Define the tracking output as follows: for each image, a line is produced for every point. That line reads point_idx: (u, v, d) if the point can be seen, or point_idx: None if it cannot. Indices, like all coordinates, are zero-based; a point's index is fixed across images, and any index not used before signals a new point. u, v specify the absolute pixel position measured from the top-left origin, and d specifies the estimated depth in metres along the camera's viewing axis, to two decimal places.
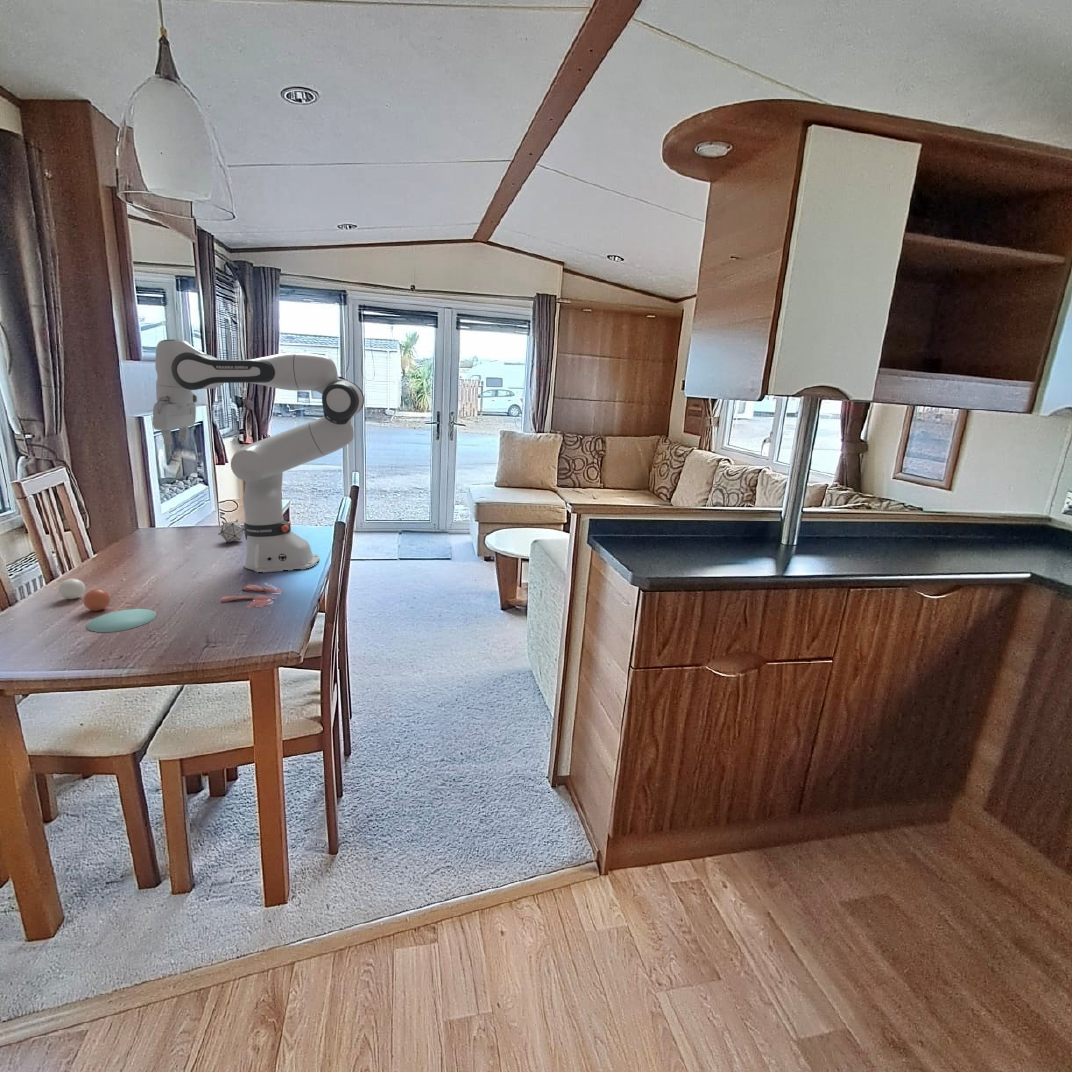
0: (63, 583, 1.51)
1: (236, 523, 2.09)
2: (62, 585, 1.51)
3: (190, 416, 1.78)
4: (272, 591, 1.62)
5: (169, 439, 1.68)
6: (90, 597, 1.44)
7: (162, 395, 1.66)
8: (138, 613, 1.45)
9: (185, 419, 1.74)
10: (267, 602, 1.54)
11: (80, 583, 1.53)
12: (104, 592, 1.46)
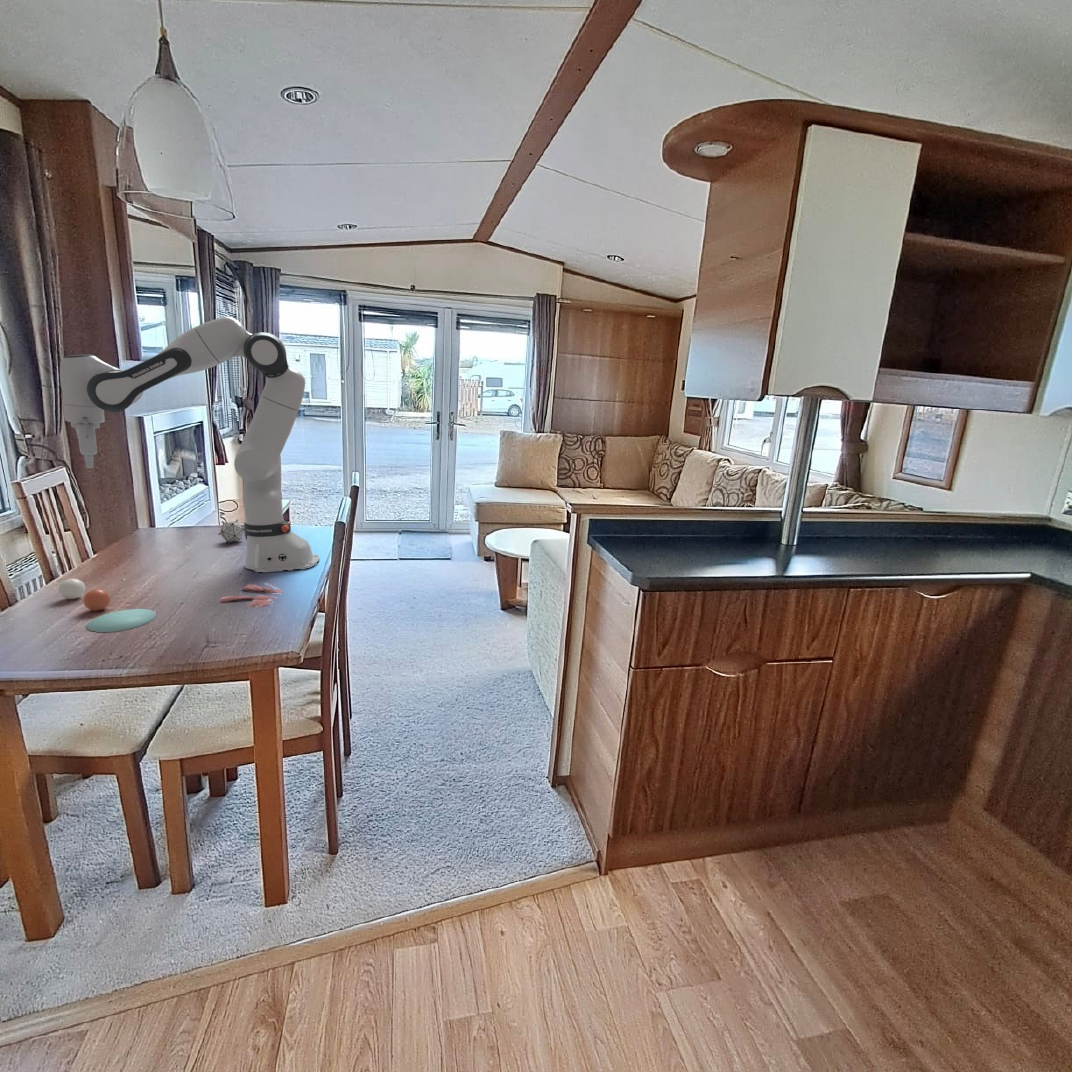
0: (63, 583, 1.51)
1: (236, 523, 2.09)
2: (62, 585, 1.51)
3: None
4: (272, 591, 1.62)
5: (92, 462, 1.58)
6: (90, 597, 1.44)
7: (78, 416, 1.54)
8: (138, 613, 1.45)
9: None
10: (267, 602, 1.54)
11: (80, 583, 1.53)
12: (104, 592, 1.46)
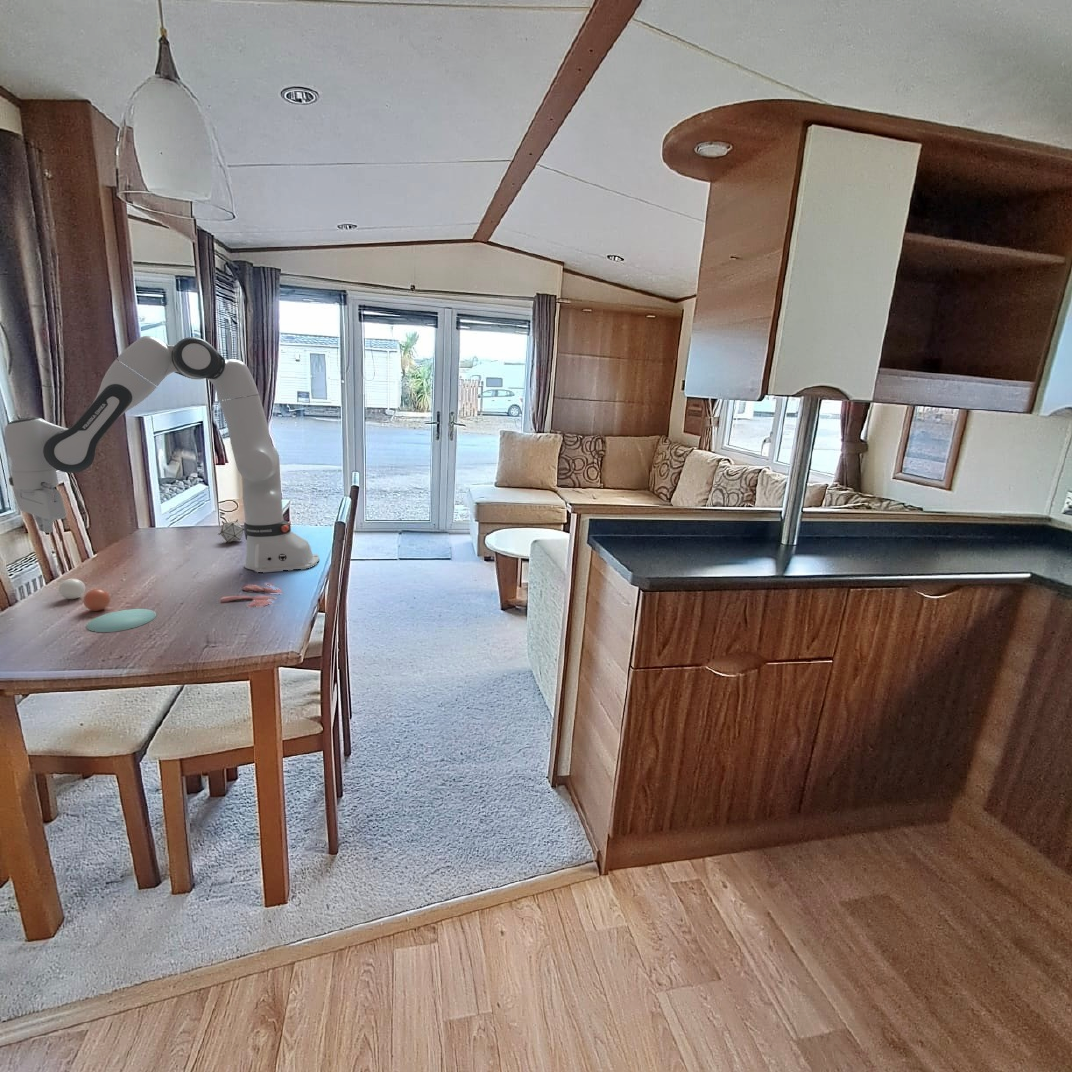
0: (63, 583, 1.51)
1: (236, 523, 2.09)
2: (62, 585, 1.51)
3: None
4: (272, 591, 1.61)
5: (51, 526, 1.54)
6: (90, 597, 1.44)
7: (36, 482, 1.48)
8: (138, 613, 1.45)
9: None
10: (267, 602, 1.54)
11: (80, 583, 1.53)
12: (104, 592, 1.46)
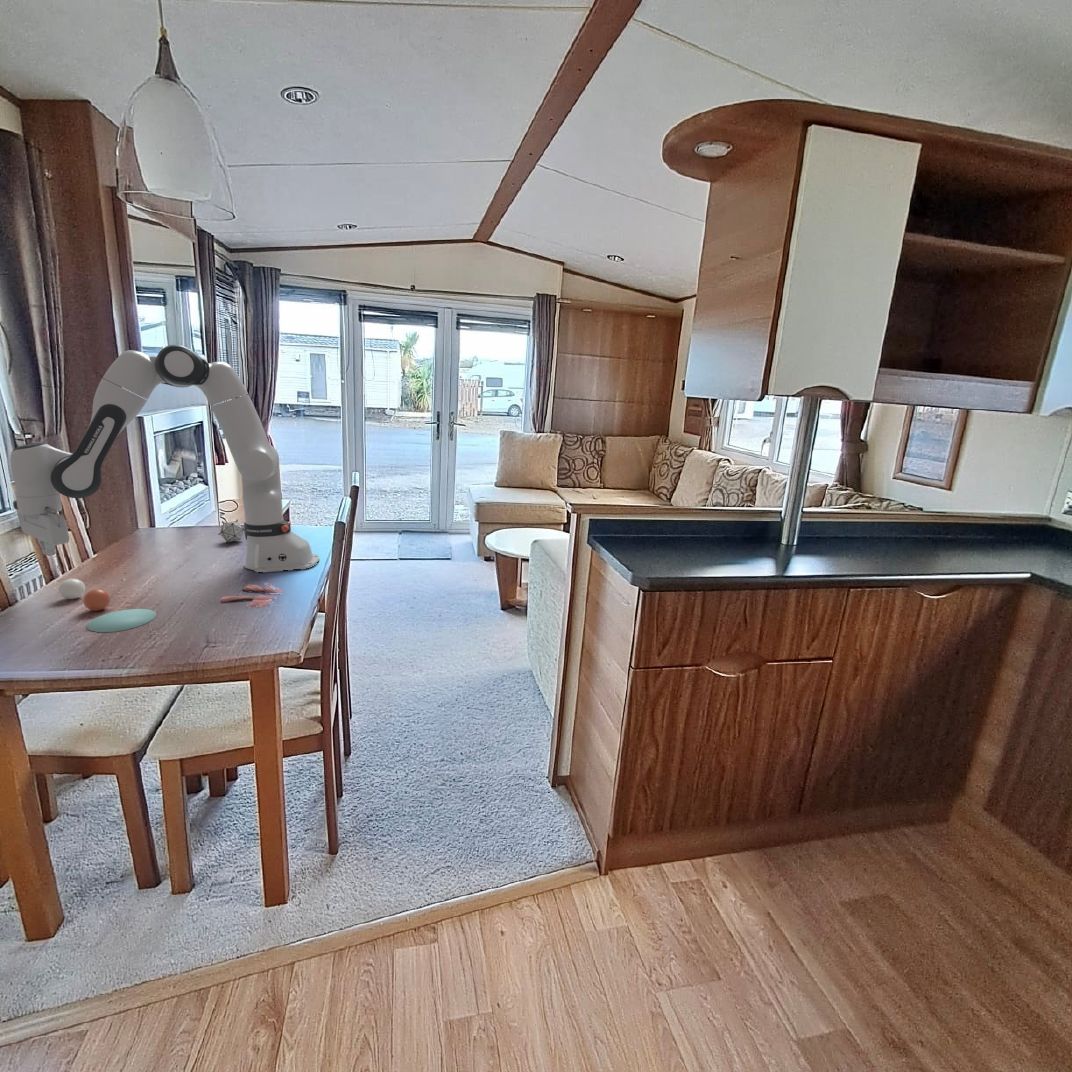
0: (63, 583, 1.51)
1: (236, 523, 2.09)
2: (62, 585, 1.51)
3: None
4: (272, 591, 1.61)
5: (53, 549, 1.55)
6: (90, 597, 1.44)
7: (40, 507, 1.49)
8: (138, 613, 1.45)
9: None
10: (267, 602, 1.54)
11: (80, 583, 1.53)
12: (104, 592, 1.46)
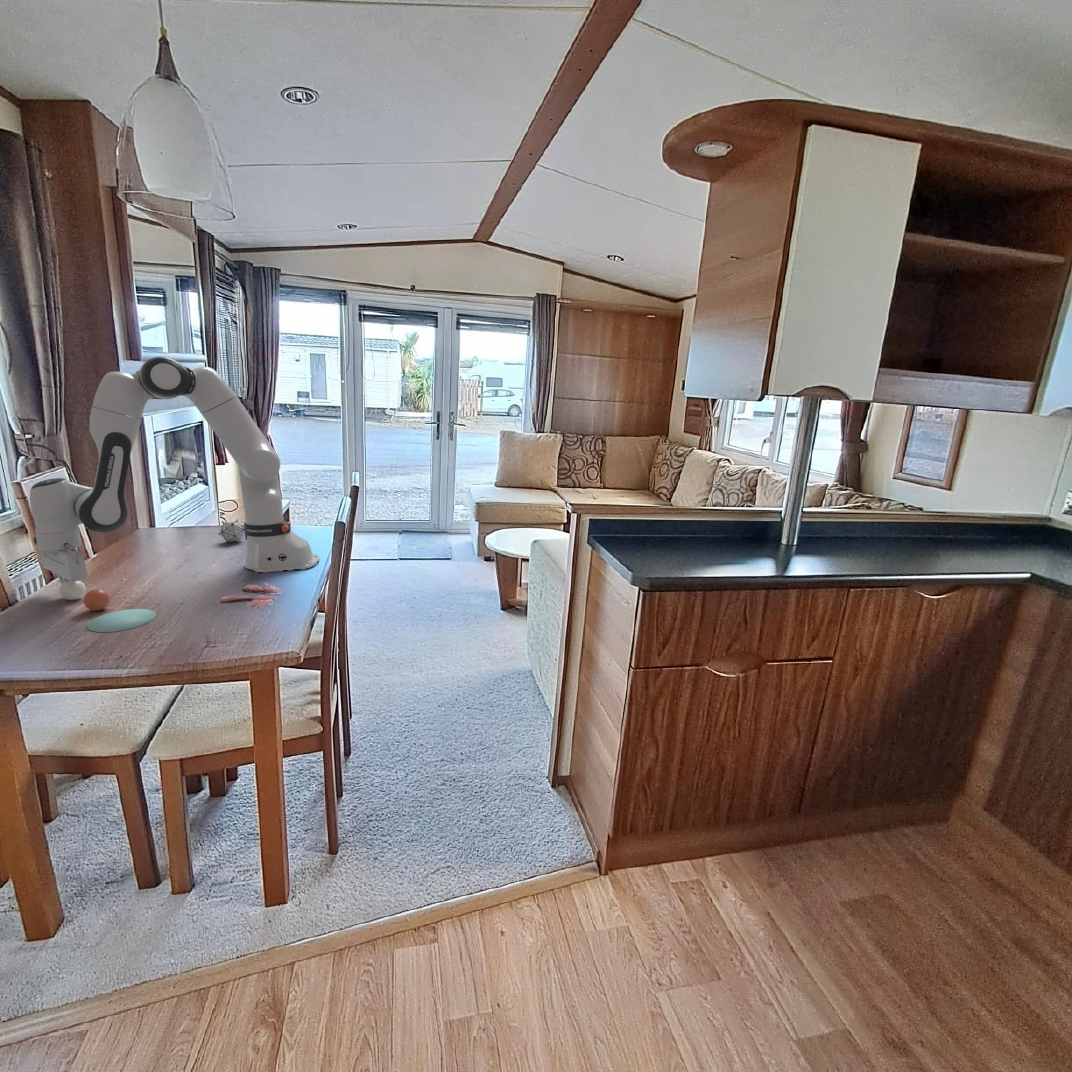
0: (64, 585, 1.51)
1: (236, 523, 2.09)
2: (63, 587, 1.50)
3: None
4: (272, 591, 1.61)
5: None
6: (90, 597, 1.44)
7: (59, 543, 1.48)
8: (138, 613, 1.45)
9: None
10: (267, 602, 1.54)
11: (82, 585, 1.53)
12: (104, 592, 1.46)
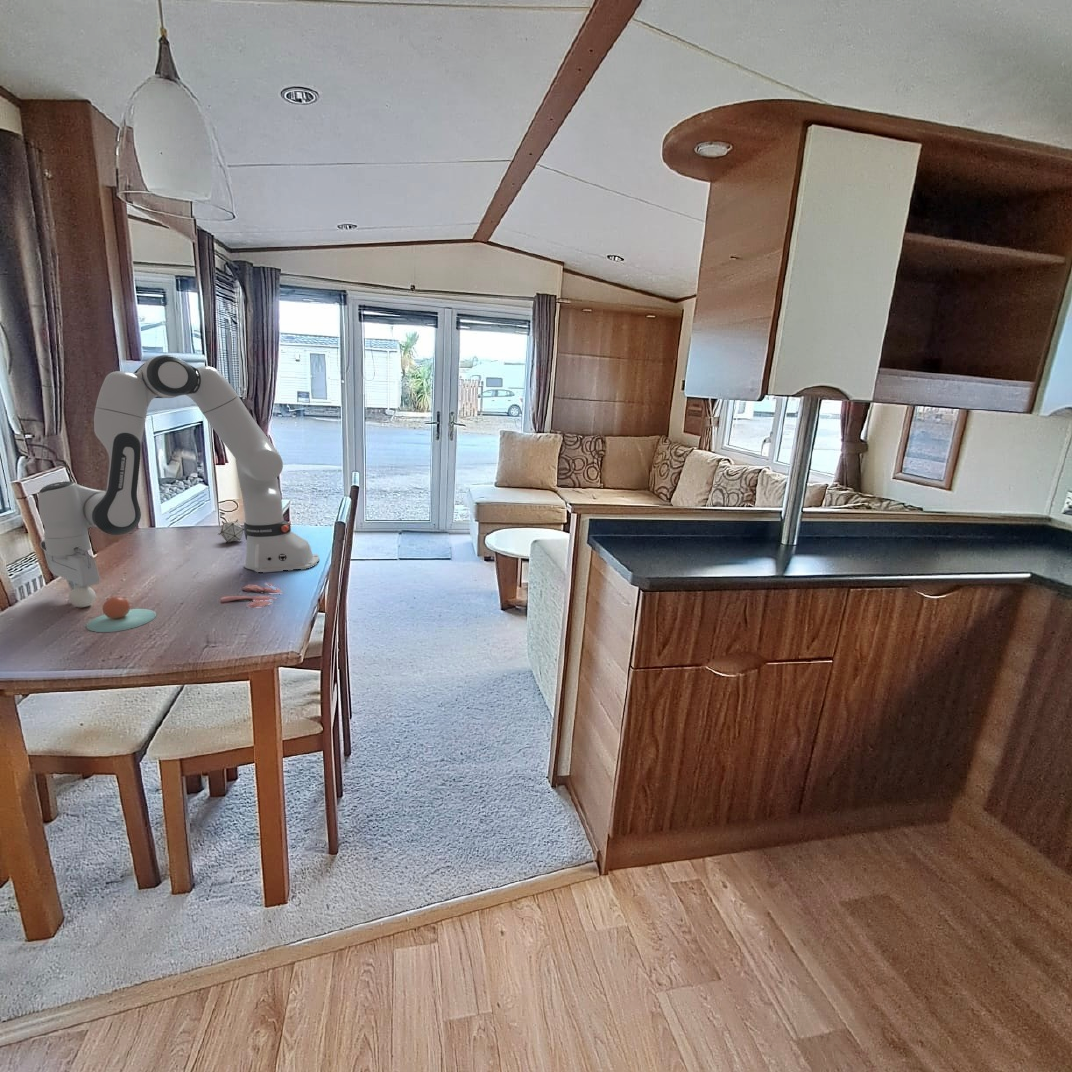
0: (78, 606, 1.48)
1: (236, 523, 2.09)
2: None
3: None
4: (272, 591, 1.61)
5: None
6: None
7: (69, 548, 1.45)
8: (138, 613, 1.45)
9: None
10: (266, 602, 1.54)
11: None
12: None
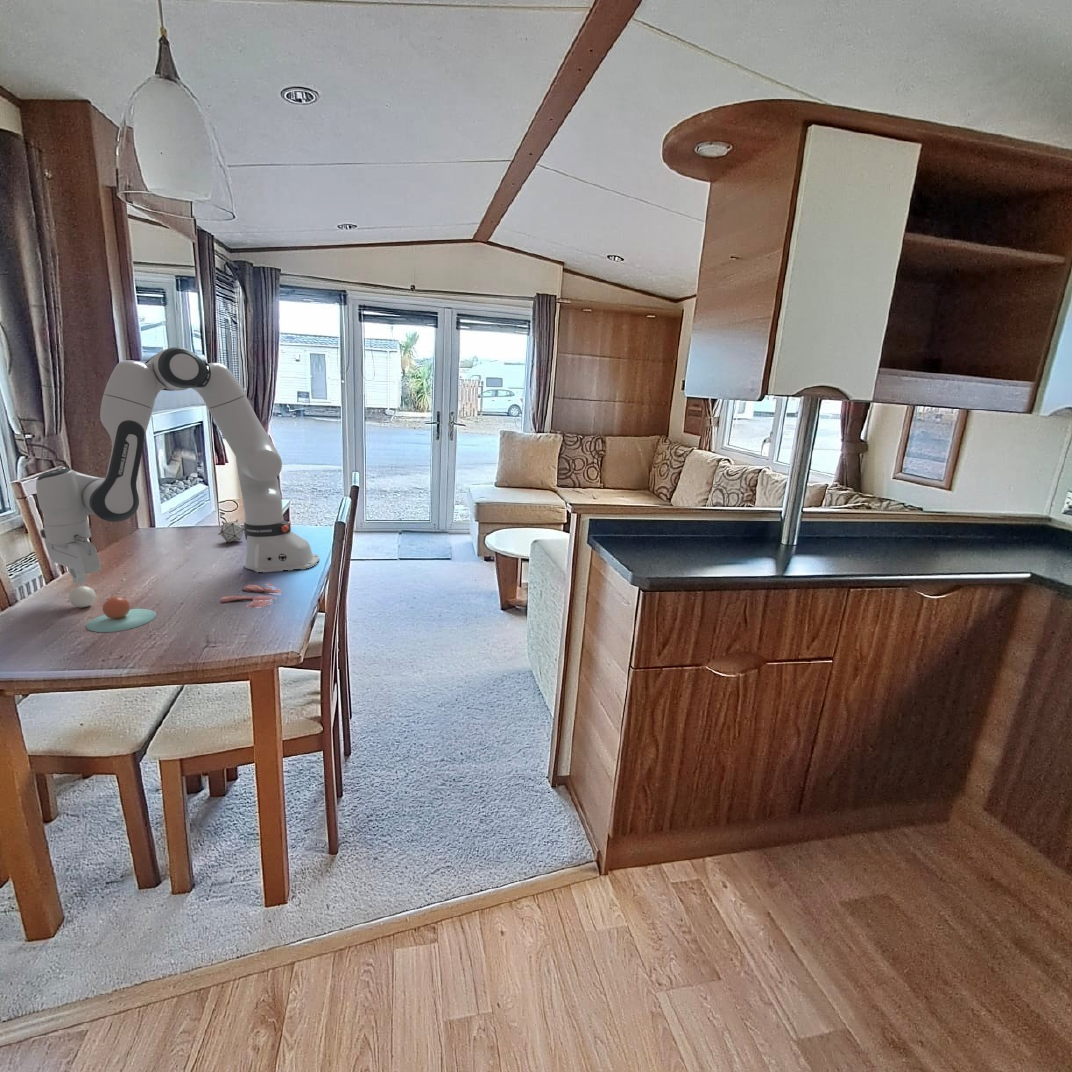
0: (78, 606, 1.48)
1: (236, 523, 2.09)
2: None
3: None
4: (272, 591, 1.61)
5: (84, 577, 1.51)
6: None
7: (69, 535, 1.45)
8: (138, 613, 1.45)
9: None
10: (266, 602, 1.53)
11: None
12: None
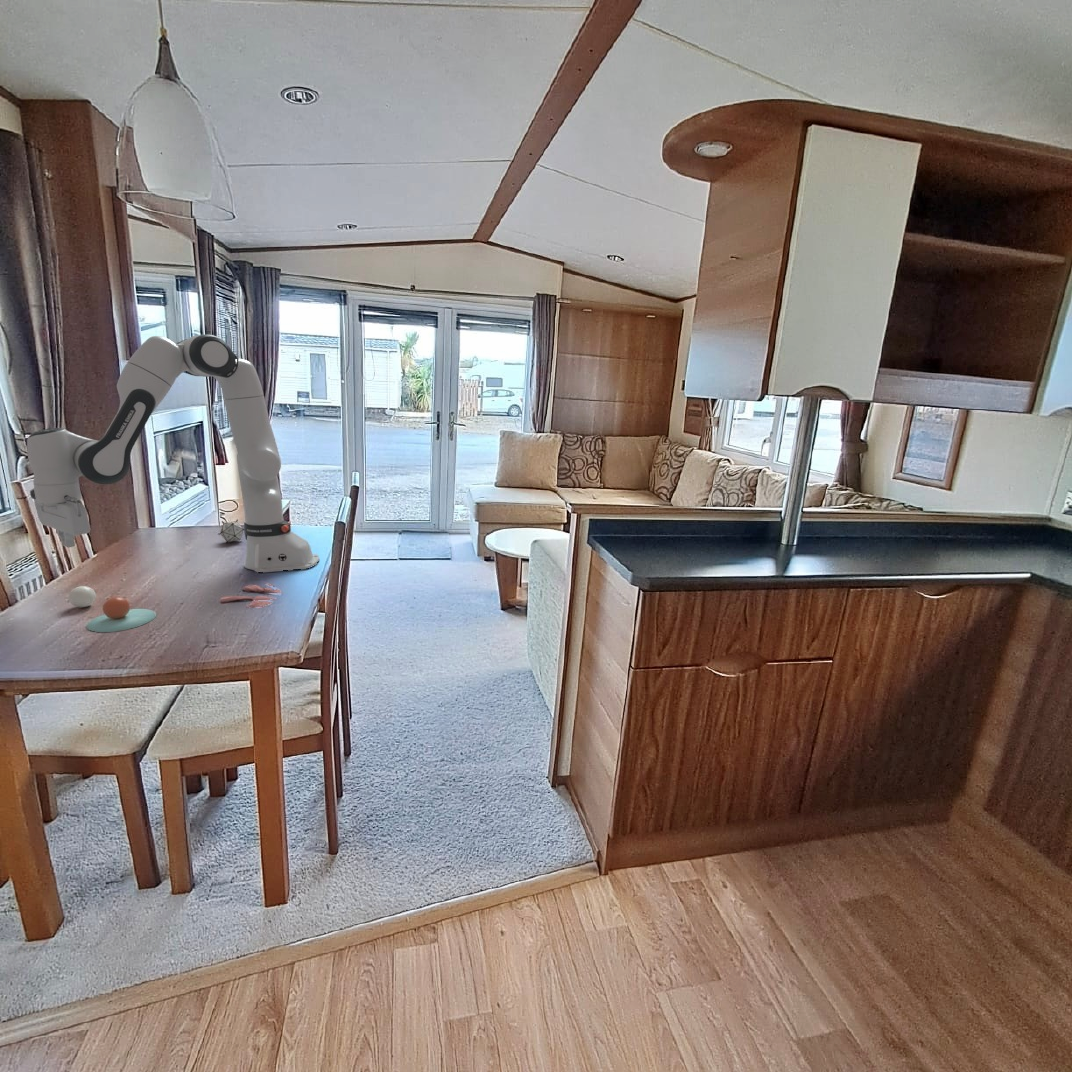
0: (78, 606, 1.48)
1: (236, 523, 2.09)
2: None
3: None
4: (272, 592, 1.61)
5: (73, 540, 1.48)
6: None
7: (59, 495, 1.42)
8: (138, 613, 1.45)
9: None
10: (266, 603, 1.53)
11: None
12: None
